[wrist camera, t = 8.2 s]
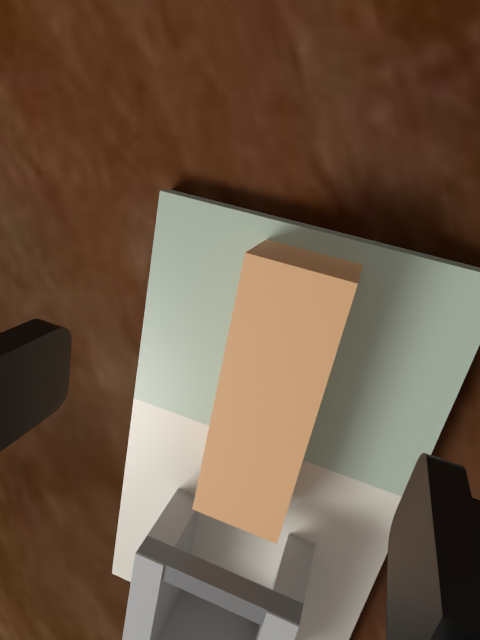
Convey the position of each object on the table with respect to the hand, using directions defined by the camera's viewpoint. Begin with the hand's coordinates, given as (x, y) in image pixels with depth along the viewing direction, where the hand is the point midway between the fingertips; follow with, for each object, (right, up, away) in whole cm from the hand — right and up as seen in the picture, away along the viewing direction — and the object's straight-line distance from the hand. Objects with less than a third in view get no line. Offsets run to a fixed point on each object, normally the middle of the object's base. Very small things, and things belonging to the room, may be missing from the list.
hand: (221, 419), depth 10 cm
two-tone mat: (+2, -5, +13) cm, 14 cm away
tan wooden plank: (+2, -1, +11) cm, 11 cm away
